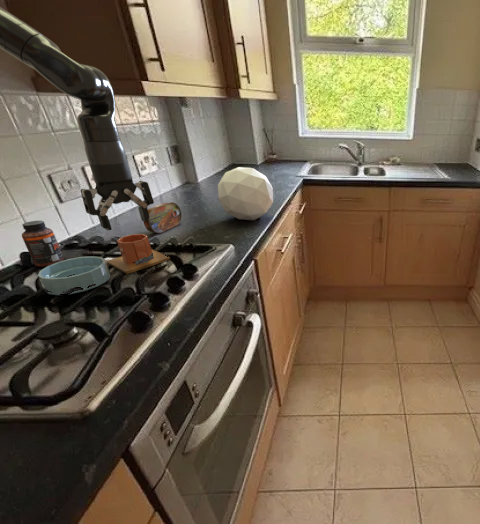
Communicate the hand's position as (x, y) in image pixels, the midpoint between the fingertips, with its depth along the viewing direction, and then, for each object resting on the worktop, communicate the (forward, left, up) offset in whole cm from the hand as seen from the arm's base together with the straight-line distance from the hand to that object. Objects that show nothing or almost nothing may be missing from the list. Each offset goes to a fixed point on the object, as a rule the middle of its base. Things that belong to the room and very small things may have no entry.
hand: (127, 225), depth 86 cm
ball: (+43, +8, -11) cm, 45 cm away
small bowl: (0, 0, -10) cm, 10 cm away
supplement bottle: (-14, +18, -11) cm, 25 cm away
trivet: (0, 0, -11) cm, 11 cm away
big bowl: (-14, -2, -11) cm, 17 cm away
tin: (+18, +21, -11) cm, 30 cm away
